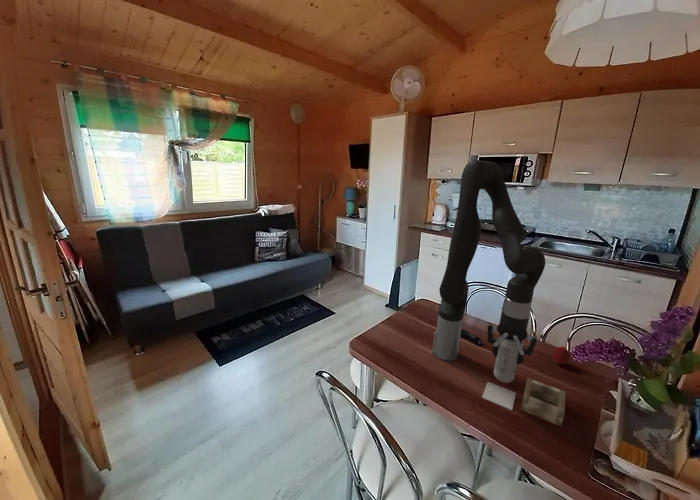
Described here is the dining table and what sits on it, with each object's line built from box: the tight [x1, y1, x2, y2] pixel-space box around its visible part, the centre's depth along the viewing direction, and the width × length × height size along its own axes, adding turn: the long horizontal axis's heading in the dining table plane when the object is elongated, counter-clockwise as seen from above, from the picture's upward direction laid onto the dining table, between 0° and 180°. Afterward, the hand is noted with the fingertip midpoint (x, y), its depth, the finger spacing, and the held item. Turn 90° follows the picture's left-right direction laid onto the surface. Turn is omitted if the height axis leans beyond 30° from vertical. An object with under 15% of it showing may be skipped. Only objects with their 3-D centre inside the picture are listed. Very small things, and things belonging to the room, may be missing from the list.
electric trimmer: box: [460, 328, 483, 347], centre depth 135 cm, size 4×16×3 cm, turn 33°
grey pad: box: [481, 381, 517, 411], centre depth 101 cm, size 9×9×1 cm
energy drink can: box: [493, 338, 519, 384], centre depth 97 cm, size 6×6×15 cm
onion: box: [551, 344, 571, 365], centre depth 117 cm, size 6×6×8 cm
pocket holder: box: [520, 377, 566, 427], centre depth 96 cm, size 11×11×5 cm
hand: (506, 359), depth 97 cm, fingers closed on energy drink can, 6 cm apart
